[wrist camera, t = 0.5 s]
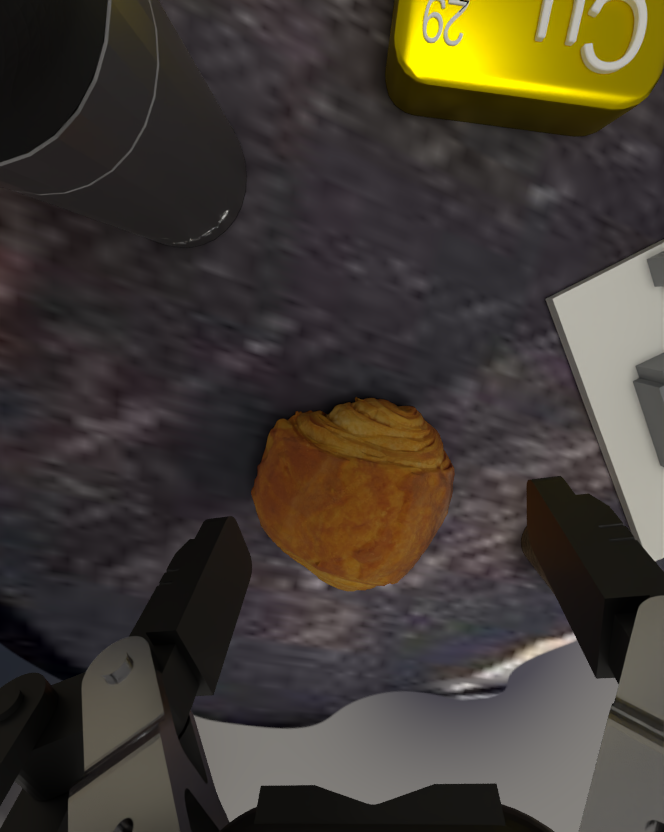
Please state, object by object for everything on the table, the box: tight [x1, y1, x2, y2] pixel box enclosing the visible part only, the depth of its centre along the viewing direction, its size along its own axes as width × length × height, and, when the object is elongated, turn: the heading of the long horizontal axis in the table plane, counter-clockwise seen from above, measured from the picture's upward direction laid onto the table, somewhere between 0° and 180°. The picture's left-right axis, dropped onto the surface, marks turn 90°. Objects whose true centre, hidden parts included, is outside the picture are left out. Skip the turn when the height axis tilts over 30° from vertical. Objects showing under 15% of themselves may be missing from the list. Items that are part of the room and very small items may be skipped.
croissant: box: [251, 397, 454, 591], centre depth 30 cm, size 15×16×8 cm
